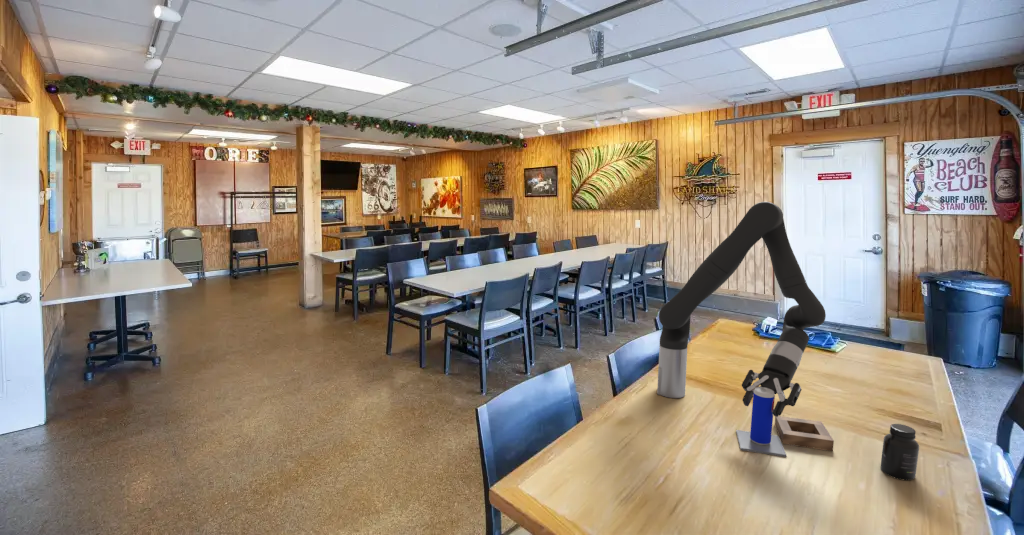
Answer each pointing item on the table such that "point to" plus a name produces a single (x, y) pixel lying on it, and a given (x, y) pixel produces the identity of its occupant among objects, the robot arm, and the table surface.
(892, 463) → the supplement bottle
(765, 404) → the beverage can
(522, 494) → the table surface
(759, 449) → the slate coaster
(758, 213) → the robot arm
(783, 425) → the walnut holder
